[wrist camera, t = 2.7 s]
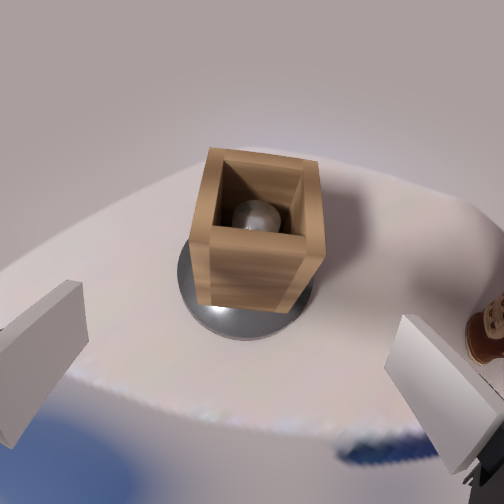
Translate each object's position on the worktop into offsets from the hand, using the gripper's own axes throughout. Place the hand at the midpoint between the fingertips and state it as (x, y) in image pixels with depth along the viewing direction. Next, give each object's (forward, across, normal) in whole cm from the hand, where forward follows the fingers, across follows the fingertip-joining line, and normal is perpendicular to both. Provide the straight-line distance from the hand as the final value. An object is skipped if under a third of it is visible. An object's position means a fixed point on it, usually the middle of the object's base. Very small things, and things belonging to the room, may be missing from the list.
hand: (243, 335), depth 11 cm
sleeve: (+15, +1, -2) cm, 15 cm away
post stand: (+16, +1, -3) cm, 17 cm away
